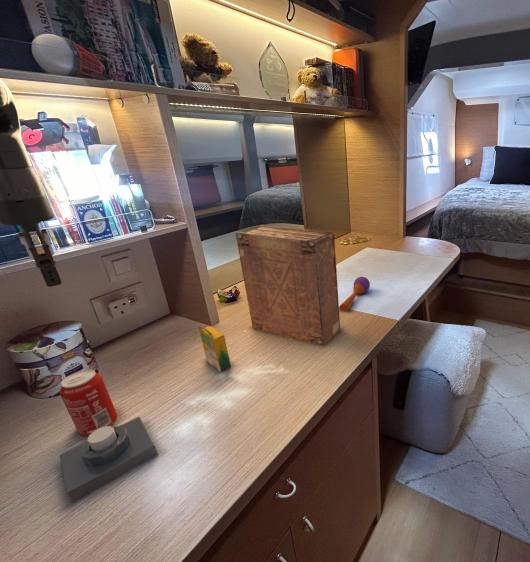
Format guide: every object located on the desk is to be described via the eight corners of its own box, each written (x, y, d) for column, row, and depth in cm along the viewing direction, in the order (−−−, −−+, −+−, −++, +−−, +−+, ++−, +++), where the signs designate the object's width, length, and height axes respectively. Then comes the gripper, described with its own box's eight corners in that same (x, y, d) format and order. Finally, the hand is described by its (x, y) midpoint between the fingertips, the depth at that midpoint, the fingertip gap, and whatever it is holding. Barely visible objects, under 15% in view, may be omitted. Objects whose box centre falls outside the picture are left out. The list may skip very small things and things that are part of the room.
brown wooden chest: (252, 329, 102) (234, 232, 90) (272, 316, 110) (258, 224, 98) (324, 347, 92) (314, 241, 81) (340, 331, 100) (334, 232, 88)
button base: (74, 505, 53) (62, 483, 51) (65, 467, 60) (54, 446, 58) (159, 457, 61) (151, 436, 59) (143, 427, 68) (136, 408, 66)
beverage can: (115, 410, 72) (96, 363, 68) (121, 426, 68) (101, 377, 63) (77, 426, 68) (55, 378, 64) (81, 444, 64) (57, 394, 59)
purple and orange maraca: (333, 300, 110) (355, 274, 127) (338, 316, 112) (359, 288, 129) (349, 300, 108) (370, 273, 125) (354, 316, 110) (373, 287, 127)
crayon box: (232, 368, 85) (223, 328, 80) (220, 374, 83) (210, 333, 78) (218, 357, 89) (208, 318, 85) (206, 363, 87) (196, 323, 82)
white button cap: (93, 455, 56) (89, 446, 55) (89, 443, 59) (85, 434, 58) (119, 442, 59) (115, 433, 58) (114, 431, 61) (111, 422, 60)
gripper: (-13, 194, 62) (26, 281, 69) (-15, 201, 53) (31, 300, 60) (42, 189, 67) (74, 271, 73) (48, 195, 58) (84, 288, 65)
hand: (54, 284), depth 67 cm, fingers closed
